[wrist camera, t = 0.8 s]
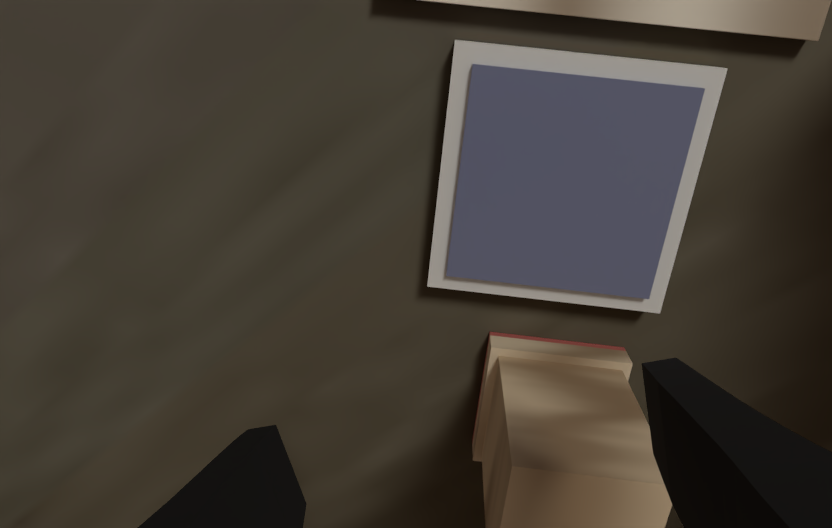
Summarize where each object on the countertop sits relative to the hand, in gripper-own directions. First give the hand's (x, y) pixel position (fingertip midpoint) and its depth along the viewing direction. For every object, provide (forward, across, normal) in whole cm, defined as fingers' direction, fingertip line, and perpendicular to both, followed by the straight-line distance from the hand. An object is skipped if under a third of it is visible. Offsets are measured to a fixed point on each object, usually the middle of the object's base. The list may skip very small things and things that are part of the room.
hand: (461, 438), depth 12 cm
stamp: (+10, -2, +6) cm, 12 cm away
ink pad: (+10, -4, -2) cm, 11 cm away
